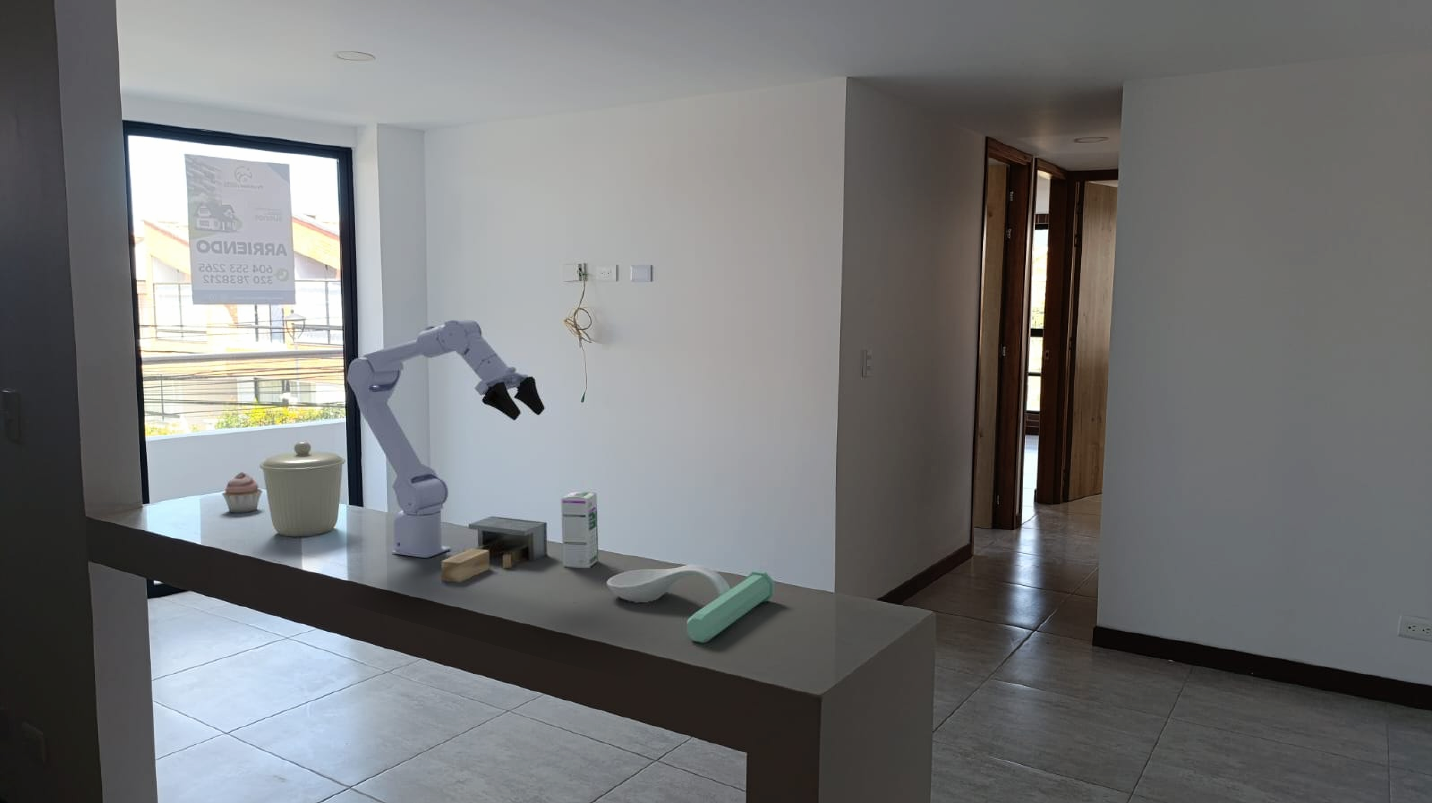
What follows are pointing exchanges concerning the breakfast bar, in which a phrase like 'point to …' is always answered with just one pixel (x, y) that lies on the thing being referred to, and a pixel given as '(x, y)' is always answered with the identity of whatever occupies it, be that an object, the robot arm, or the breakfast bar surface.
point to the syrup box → (579, 529)
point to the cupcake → (242, 494)
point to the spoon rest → (660, 582)
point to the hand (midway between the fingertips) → (529, 414)
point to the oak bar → (465, 565)
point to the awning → (511, 538)
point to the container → (730, 607)
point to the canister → (303, 490)
